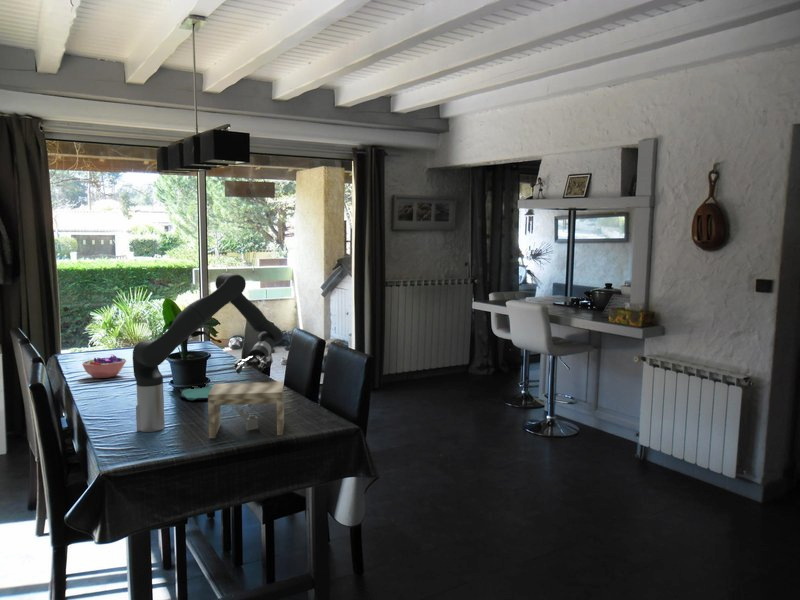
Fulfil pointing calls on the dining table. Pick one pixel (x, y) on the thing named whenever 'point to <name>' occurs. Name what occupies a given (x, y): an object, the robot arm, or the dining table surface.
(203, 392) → the teal flat tray
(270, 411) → the dining table surface
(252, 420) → the lighter
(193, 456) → the dining table surface
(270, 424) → the dining table surface
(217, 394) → the small wooden stool
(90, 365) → the cell model
